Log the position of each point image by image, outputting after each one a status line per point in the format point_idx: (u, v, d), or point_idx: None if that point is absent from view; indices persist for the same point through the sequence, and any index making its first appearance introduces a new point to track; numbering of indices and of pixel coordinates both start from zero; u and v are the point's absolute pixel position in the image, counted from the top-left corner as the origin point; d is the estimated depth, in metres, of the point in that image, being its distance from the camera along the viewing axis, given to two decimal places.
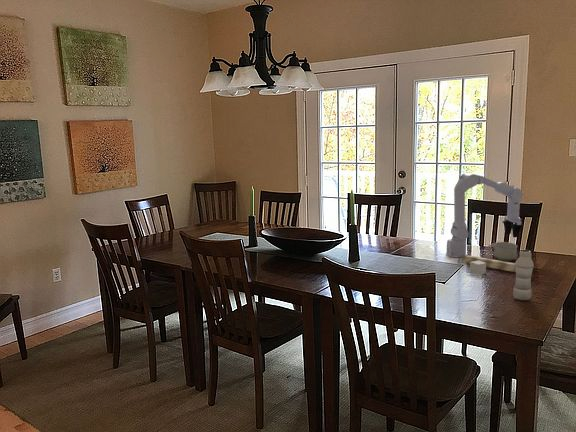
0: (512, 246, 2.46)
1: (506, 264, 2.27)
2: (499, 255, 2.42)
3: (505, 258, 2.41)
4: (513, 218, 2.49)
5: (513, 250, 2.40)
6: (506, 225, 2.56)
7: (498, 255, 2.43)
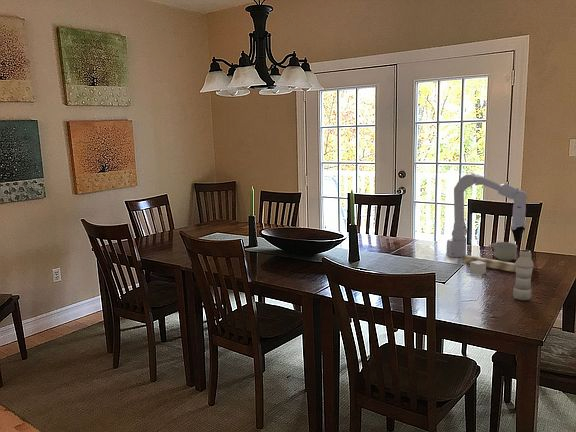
0: (512, 246, 2.47)
1: (506, 264, 2.27)
2: (499, 255, 2.42)
3: (505, 258, 2.41)
4: (514, 222, 2.37)
5: (513, 250, 2.40)
6: None
7: (498, 255, 2.43)
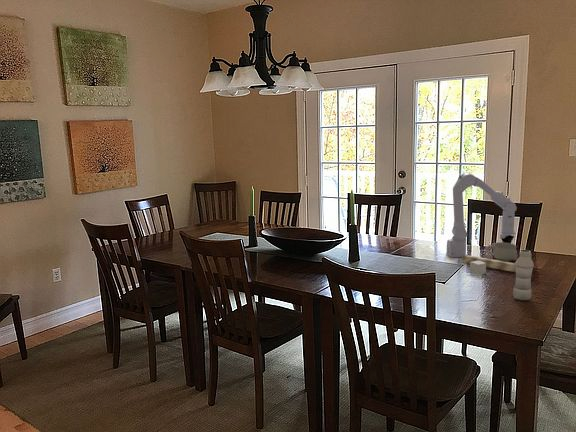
0: (511, 246, 2.45)
1: (506, 264, 2.27)
2: (498, 256, 2.41)
3: (504, 258, 2.40)
4: (503, 231, 2.47)
5: (512, 250, 2.39)
6: None
7: (497, 255, 2.42)
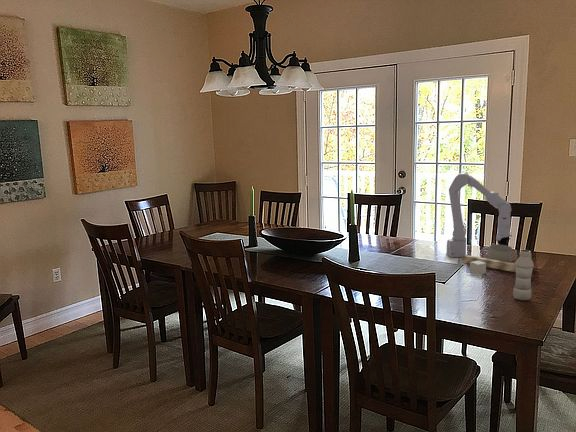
0: (507, 249, 2.41)
1: (506, 264, 2.27)
2: (494, 258, 2.37)
3: None
4: (499, 233, 2.43)
5: (508, 253, 2.35)
6: None
7: (493, 258, 2.38)
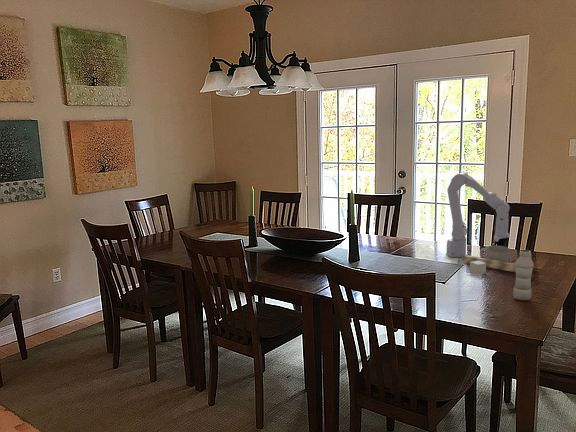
0: (505, 250, 2.40)
1: (506, 264, 2.27)
2: None
3: None
4: (497, 234, 2.41)
5: (506, 254, 2.33)
6: None
7: None
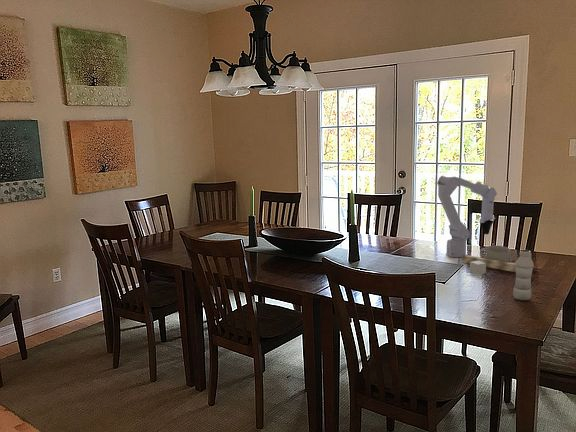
0: (505, 250, 2.40)
1: (506, 264, 2.27)
2: None
3: None
4: (483, 216, 2.54)
5: (506, 254, 2.33)
6: None
7: None
